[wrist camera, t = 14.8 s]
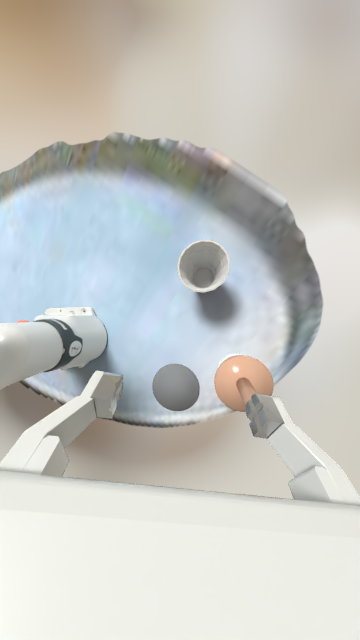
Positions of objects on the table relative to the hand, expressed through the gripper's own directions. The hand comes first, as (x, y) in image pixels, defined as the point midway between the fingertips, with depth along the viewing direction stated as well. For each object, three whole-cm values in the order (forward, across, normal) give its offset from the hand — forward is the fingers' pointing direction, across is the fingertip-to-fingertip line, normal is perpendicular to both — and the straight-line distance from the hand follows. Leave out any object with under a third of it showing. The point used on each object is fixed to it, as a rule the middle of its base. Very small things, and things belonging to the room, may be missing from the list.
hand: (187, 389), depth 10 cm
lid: (+17, -16, +18) cm, 30 cm away
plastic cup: (+38, -5, +4) cm, 39 cm away
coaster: (+23, -4, +32) cm, 40 cm away
